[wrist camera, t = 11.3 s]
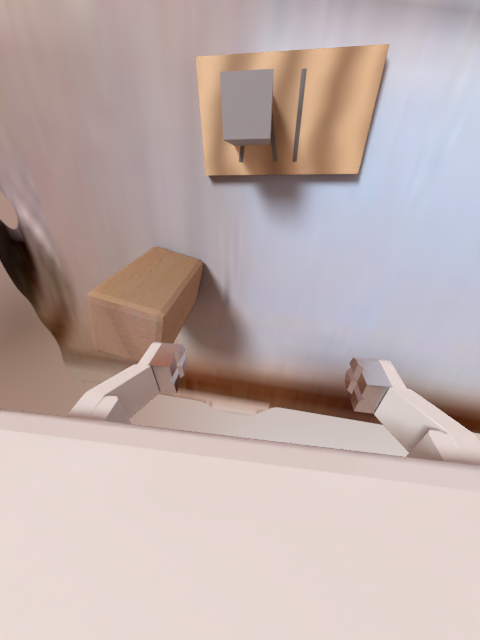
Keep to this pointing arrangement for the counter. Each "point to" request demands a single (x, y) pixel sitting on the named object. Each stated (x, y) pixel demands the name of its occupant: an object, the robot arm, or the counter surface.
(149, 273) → the wooden block
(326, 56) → the board
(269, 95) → the block
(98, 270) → the counter surface
